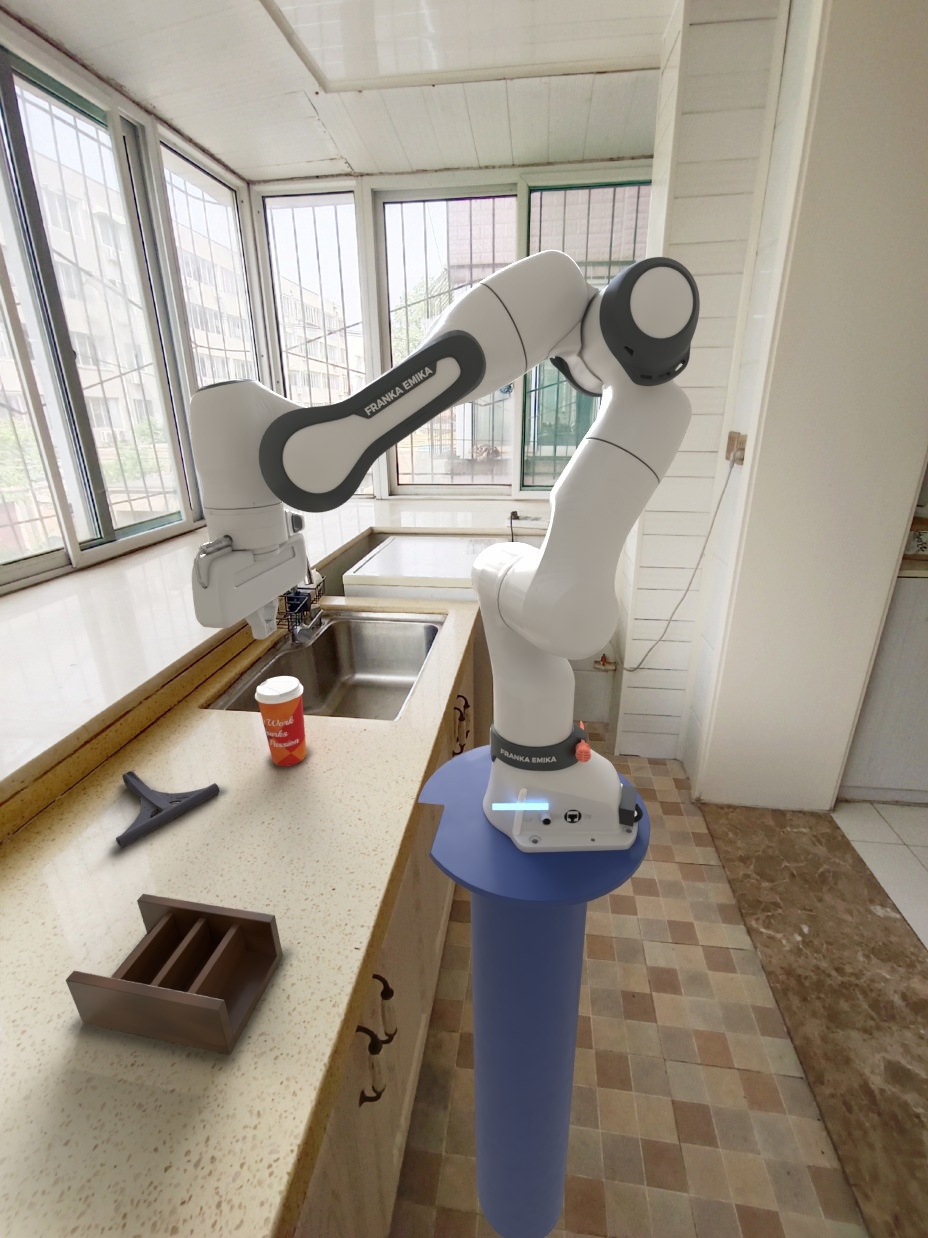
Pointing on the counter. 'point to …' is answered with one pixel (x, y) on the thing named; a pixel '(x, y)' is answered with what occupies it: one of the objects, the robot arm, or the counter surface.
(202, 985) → the rack
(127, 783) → the bracket
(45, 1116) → the counter surface
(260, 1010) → the counter surface
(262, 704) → the paper cup
